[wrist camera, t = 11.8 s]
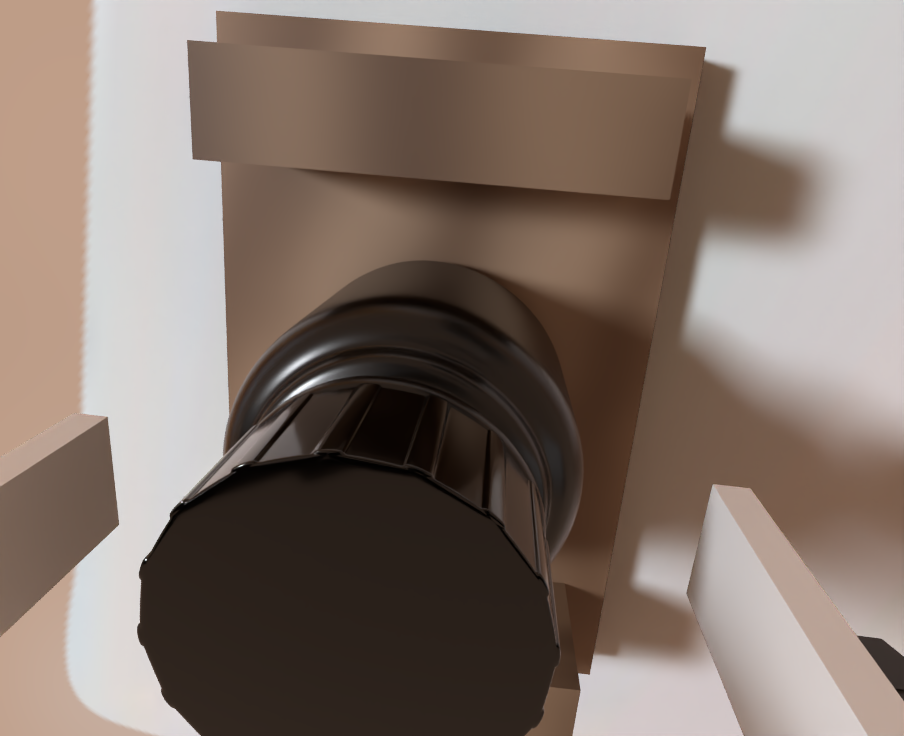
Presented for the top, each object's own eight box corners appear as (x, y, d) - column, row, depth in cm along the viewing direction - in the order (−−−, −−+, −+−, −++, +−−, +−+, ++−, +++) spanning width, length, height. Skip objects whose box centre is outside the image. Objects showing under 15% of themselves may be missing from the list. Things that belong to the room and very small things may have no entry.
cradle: (690, 56, 19) (781, 4, 13) (584, 646, 26) (610, 797, 20) (236, 22, 20) (115, -43, 14) (250, 606, 27) (174, 739, 20)
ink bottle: (241, 395, 22) (-41, 644, 11) (393, 190, 19) (236, 228, 8) (458, 556, 23) (415, 930, 12) (627, 383, 21) (776, 650, 9)
